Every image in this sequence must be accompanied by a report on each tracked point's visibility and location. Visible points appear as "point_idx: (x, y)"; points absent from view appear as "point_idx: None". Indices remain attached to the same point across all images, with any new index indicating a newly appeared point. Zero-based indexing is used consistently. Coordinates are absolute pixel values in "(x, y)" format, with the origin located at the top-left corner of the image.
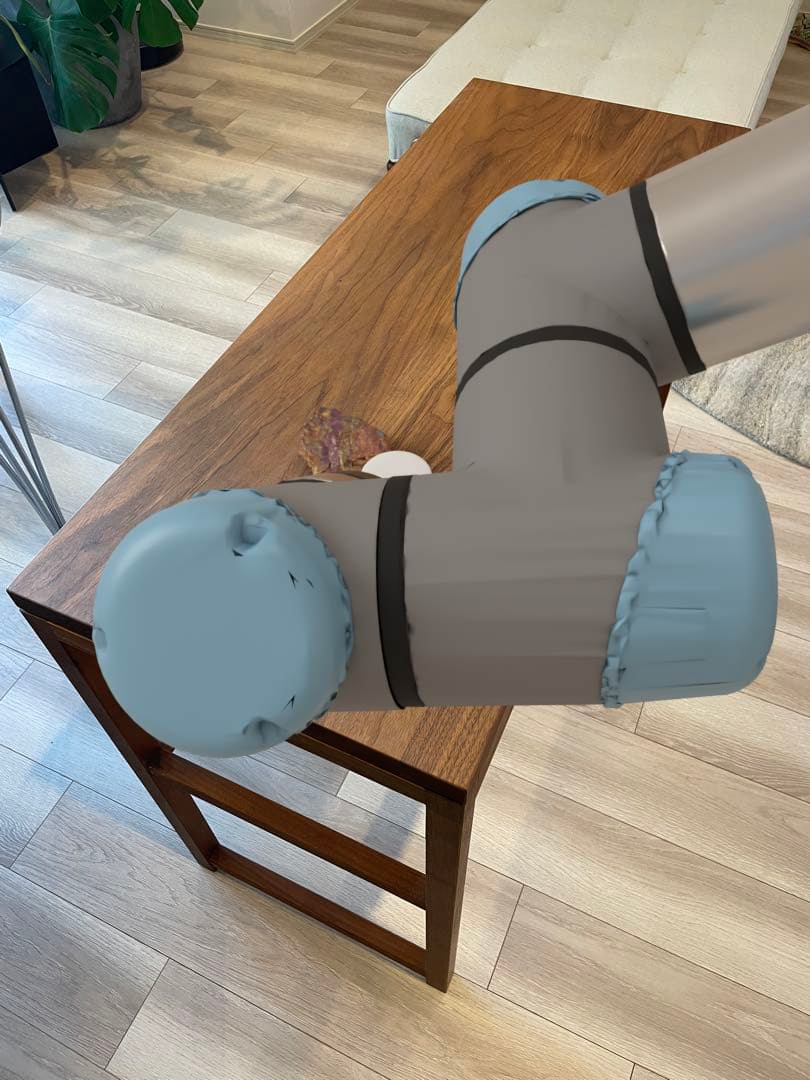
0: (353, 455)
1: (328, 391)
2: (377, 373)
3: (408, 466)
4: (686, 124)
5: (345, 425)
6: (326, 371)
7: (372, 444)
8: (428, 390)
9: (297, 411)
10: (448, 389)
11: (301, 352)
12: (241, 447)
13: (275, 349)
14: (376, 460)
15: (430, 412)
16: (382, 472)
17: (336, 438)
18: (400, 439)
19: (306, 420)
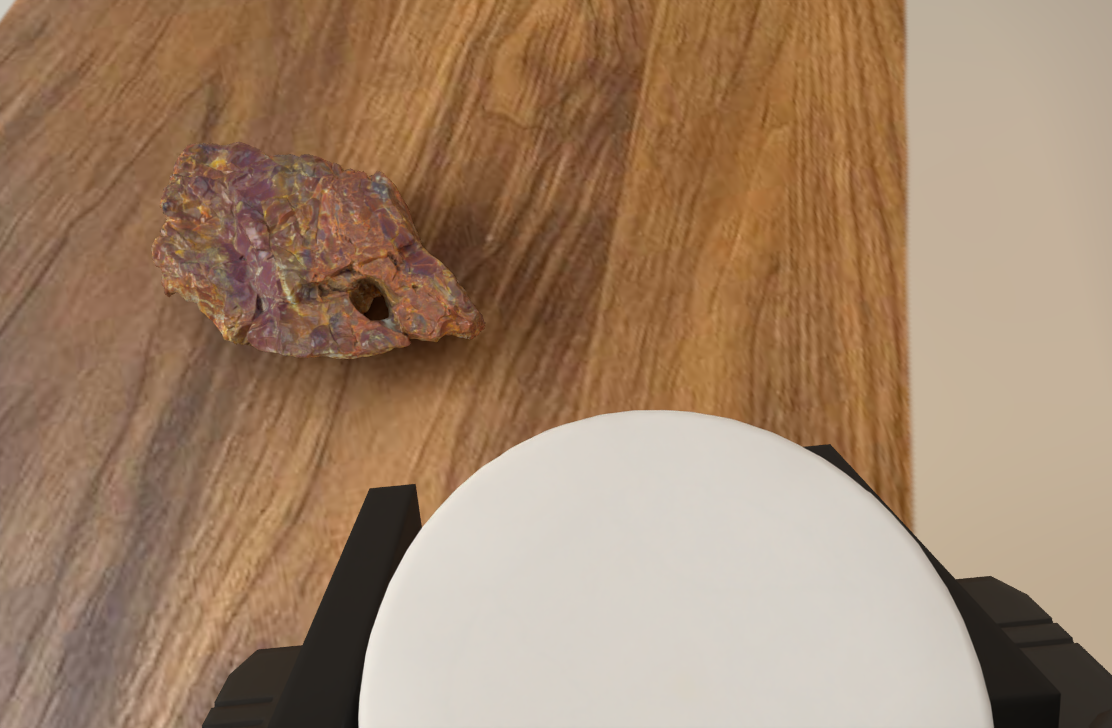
0: (318, 267)
1: (226, 101)
2: (334, 39)
3: (731, 549)
4: None
5: (277, 184)
6: (212, 55)
7: (364, 225)
8: (462, 58)
9: (158, 165)
10: (507, 47)
11: (144, 21)
12: (25, 287)
13: (80, 24)
14: (462, 546)
15: (481, 108)
16: (542, 661)
17: (259, 227)
18: (427, 188)
19: (166, 190)
